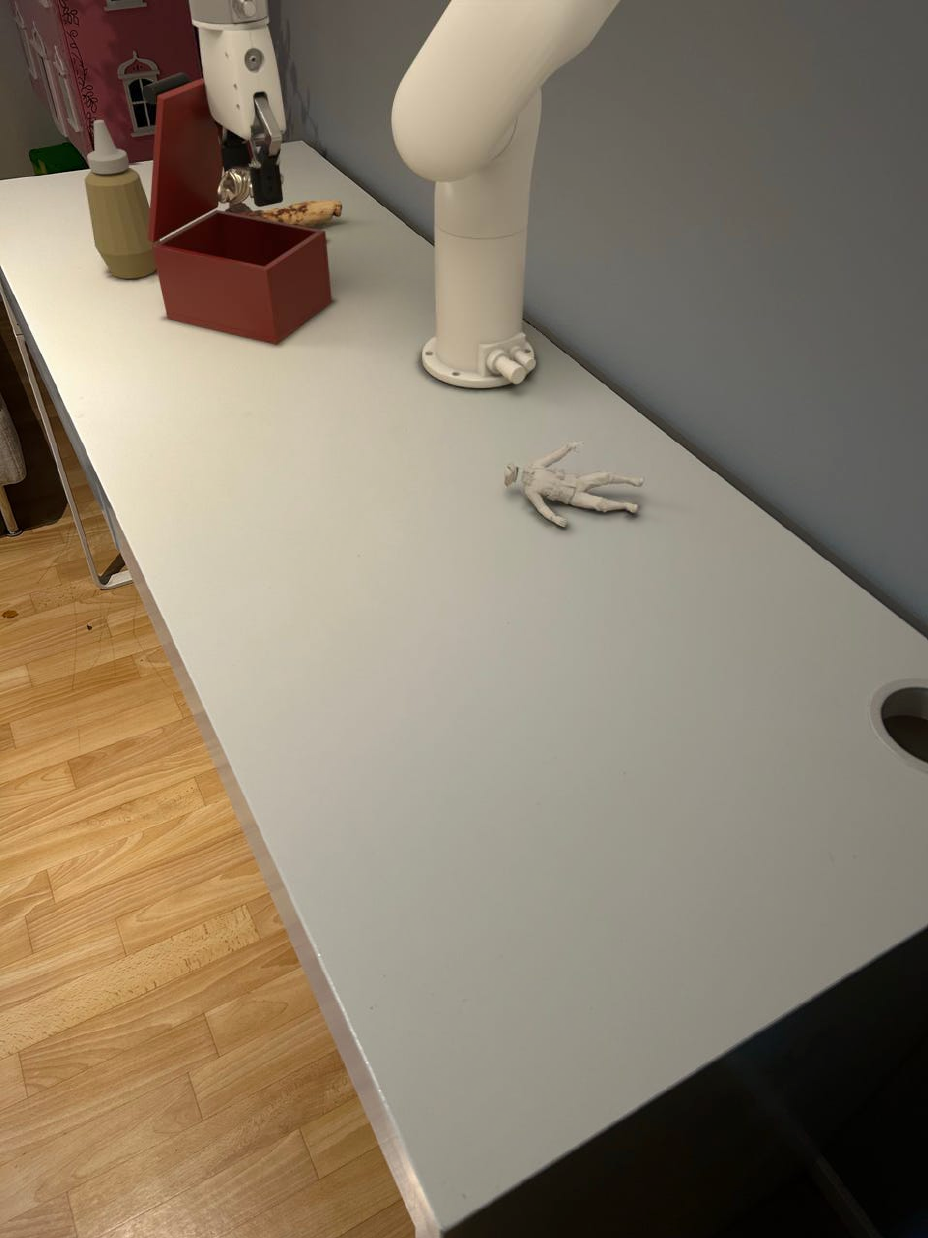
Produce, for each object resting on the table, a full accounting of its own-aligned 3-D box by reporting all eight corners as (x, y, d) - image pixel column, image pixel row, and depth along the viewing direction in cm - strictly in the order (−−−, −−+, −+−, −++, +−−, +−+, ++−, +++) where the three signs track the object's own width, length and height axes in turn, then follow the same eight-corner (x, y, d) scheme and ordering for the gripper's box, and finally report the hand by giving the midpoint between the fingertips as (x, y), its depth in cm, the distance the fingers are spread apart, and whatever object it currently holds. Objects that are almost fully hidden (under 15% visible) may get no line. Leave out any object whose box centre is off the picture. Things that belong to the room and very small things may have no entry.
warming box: (332, 301, 117) (325, 230, 111) (276, 344, 108) (266, 270, 102) (228, 278, 121) (216, 209, 115) (167, 318, 113) (151, 245, 107)
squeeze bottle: (174, 259, 126) (143, 112, 113) (153, 285, 120) (119, 132, 107) (115, 256, 126) (79, 109, 114) (92, 281, 120) (51, 130, 108)
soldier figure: (631, 543, 84) (506, 509, 81) (611, 546, 88) (491, 514, 86) (650, 459, 84) (526, 422, 81) (628, 467, 89) (510, 432, 86)
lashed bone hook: (231, 260, 127) (357, 238, 132) (225, 226, 123) (354, 204, 128) (215, 233, 132) (336, 212, 138) (209, 199, 129) (333, 179, 134)
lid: (235, 70, 103) (197, 48, 103) (163, 99, 94) (122, 74, 95) (218, 207, 115) (184, 187, 115) (153, 243, 107) (116, 221, 107)
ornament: (244, 216, 101) (239, 181, 98) (207, 200, 104) (201, 165, 102) (302, 197, 105) (298, 163, 102) (264, 182, 108) (260, 148, 106)
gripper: (303, 17, 88) (320, 211, 100) (228, -14, 99) (252, 165, 111) (229, 26, 85) (256, 225, 97) (160, -7, 95) (192, 176, 108)
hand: (254, 191), depth 104 cm, fingers closed on ornament, 6 cm apart
